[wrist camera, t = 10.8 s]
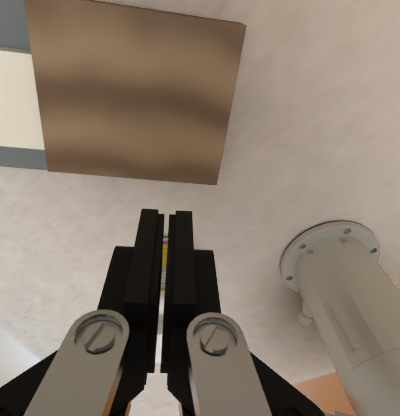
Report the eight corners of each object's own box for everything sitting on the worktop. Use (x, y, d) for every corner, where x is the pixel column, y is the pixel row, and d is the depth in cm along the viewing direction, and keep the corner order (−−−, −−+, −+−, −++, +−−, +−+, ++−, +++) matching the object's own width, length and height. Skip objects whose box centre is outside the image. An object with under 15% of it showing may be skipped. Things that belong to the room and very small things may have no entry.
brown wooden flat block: (213, 173, 34) (216, 185, 32) (55, 159, 32) (47, 171, 30) (240, 22, 26) (246, 25, 24) (35, -9, 24) (22, -9, 22)
